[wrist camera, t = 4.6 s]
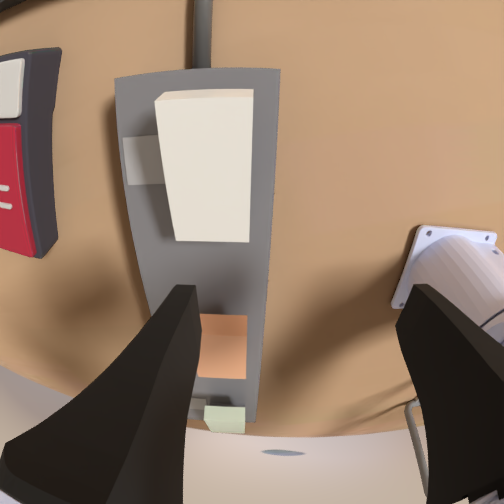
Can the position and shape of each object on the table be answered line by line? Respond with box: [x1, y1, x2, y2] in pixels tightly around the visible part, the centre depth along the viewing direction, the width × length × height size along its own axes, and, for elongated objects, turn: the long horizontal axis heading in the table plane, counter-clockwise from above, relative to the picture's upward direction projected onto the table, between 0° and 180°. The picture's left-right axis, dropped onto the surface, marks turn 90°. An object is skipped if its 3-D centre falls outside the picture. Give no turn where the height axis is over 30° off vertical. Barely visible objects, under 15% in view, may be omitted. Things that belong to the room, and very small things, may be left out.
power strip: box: [115, 0, 280, 422], centre depth 18 cm, size 8×43×4 cm, turn 178°
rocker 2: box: [204, 406, 245, 434], centre depth 25 cm, size 4×7×1 cm, turn 179°
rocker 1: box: [154, 89, 253, 242], centre depth 12 cm, size 4×7×1 cm, turn 178°
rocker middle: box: [197, 314, 247, 379], centre depth 19 cm, size 4×7×1 cm, turn 178°
